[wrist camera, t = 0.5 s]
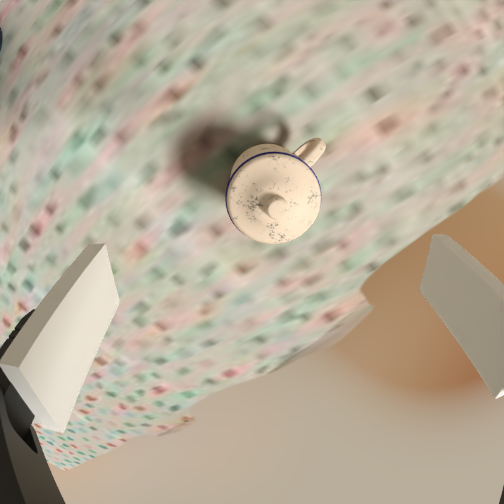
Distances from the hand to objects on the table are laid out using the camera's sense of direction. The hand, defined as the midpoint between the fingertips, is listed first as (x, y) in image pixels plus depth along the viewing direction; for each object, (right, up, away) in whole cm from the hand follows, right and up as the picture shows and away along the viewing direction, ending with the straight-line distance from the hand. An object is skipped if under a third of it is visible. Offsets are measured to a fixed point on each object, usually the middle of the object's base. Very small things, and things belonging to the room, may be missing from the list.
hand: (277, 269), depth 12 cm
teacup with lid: (+2, +10, +25) cm, 27 cm away
